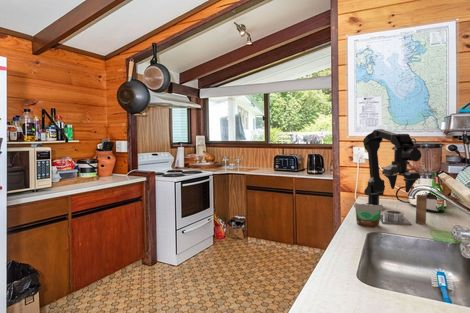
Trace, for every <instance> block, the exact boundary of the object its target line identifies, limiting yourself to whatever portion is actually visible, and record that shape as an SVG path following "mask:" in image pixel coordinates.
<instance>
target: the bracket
mask: <svg viewBox="0 0 470 313" xmlns="http://www.w3.org/2000/svg"><path fill="white" fill-rule="evenodd" d="M379 222H380V223H381V224H383V225H385V224H386V225H404V226H405V225H406V226H412V222H410V220H409V219H407V217H406V216H405V212H403V211H400V210H395V209H385V210H383V214H380V220H379Z"/></svg>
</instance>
